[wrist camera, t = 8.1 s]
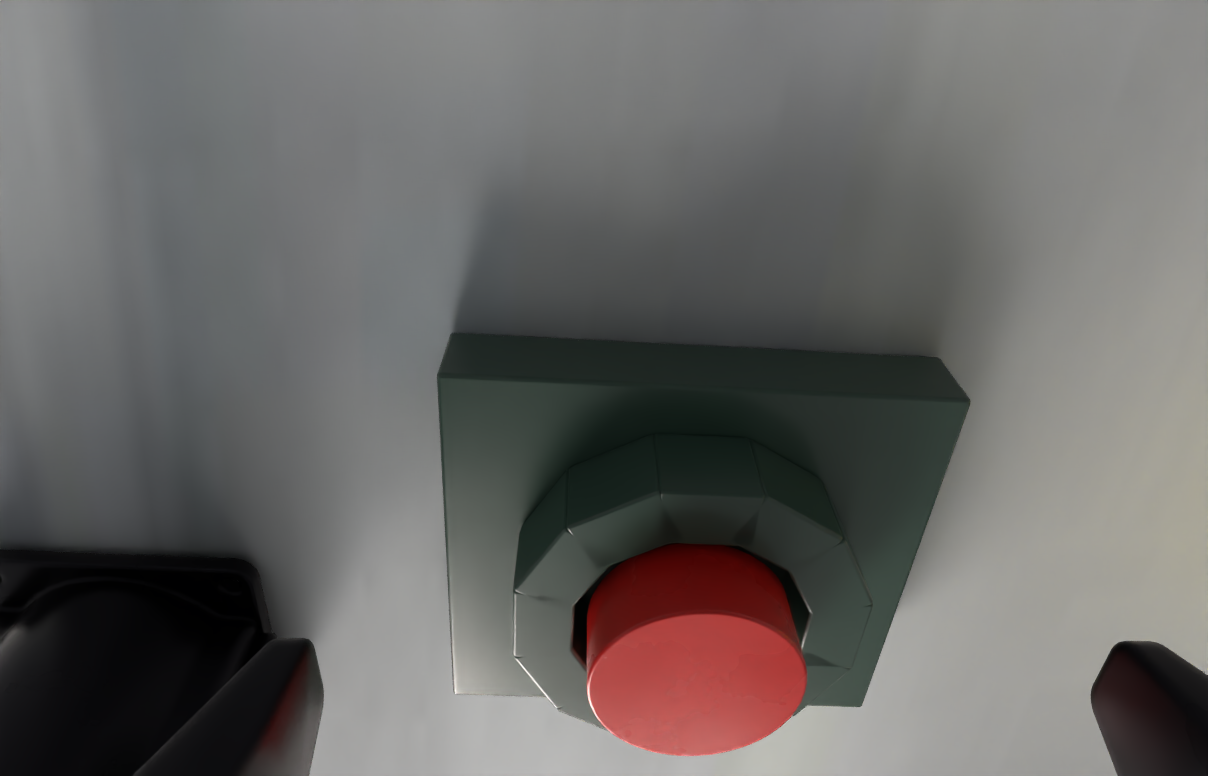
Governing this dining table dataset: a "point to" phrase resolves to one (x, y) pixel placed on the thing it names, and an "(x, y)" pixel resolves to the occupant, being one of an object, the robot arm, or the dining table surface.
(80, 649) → the robot arm
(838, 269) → the dining table surface
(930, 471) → the button block
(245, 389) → the dining table surface
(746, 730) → the button
